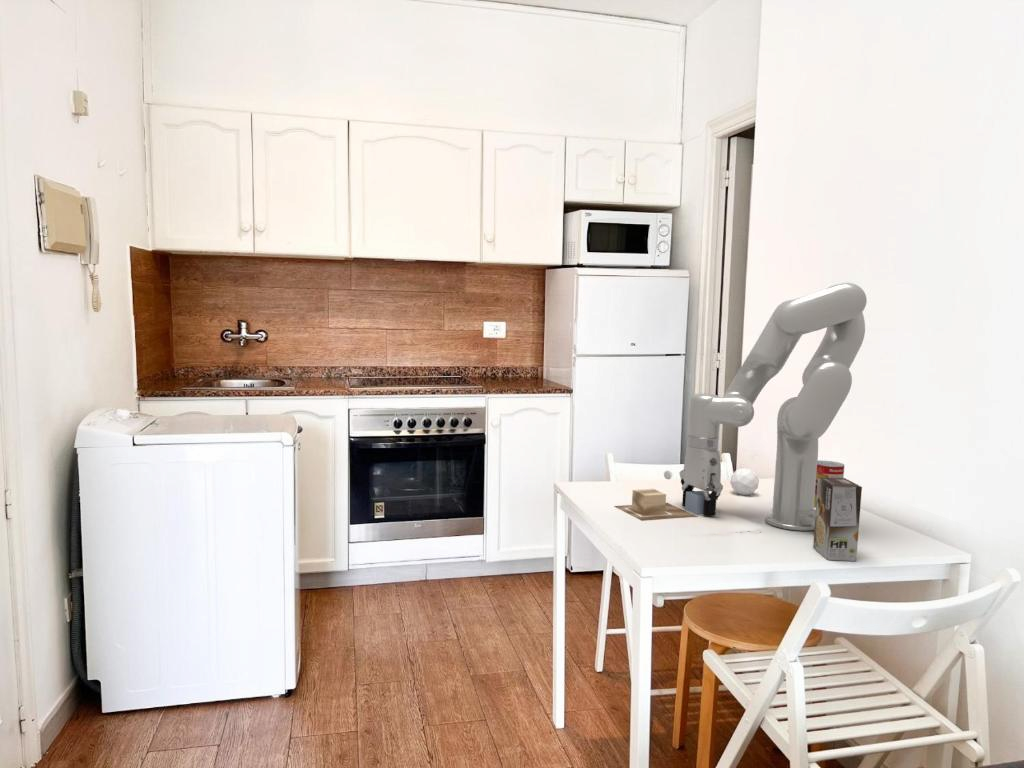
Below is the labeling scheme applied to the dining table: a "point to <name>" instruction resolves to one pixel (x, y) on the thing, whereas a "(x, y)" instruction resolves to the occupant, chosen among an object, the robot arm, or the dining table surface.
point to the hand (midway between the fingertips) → (698, 510)
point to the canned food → (828, 472)
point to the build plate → (670, 513)
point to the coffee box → (837, 518)
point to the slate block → (695, 502)
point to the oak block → (648, 502)
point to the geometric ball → (744, 481)
